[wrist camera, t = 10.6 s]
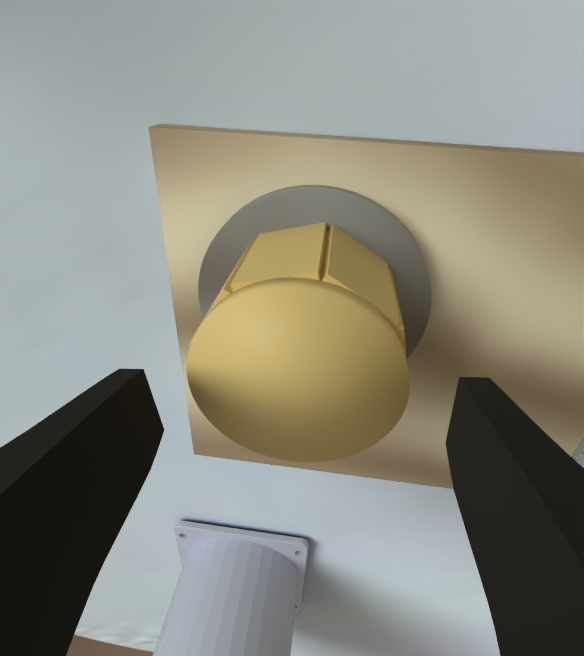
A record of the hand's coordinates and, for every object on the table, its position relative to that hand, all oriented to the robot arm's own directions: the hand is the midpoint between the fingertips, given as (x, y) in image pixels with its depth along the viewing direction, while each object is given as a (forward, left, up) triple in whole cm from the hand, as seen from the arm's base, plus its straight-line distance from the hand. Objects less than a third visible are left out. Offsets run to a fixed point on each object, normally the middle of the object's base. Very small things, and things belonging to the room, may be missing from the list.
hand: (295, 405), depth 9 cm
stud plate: (-2, -3, -6) cm, 7 cm away
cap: (0, 0, -5) cm, 5 cm away
